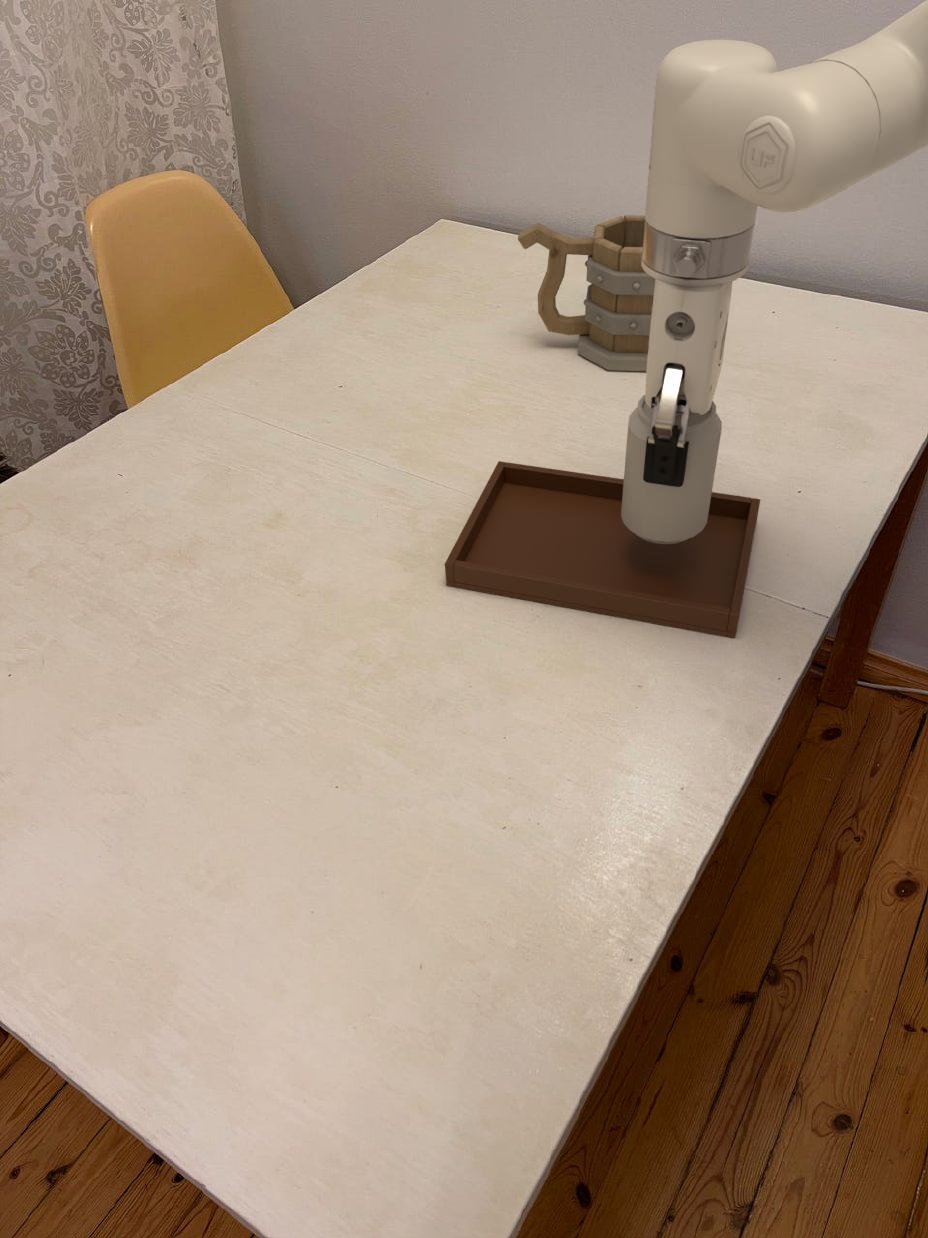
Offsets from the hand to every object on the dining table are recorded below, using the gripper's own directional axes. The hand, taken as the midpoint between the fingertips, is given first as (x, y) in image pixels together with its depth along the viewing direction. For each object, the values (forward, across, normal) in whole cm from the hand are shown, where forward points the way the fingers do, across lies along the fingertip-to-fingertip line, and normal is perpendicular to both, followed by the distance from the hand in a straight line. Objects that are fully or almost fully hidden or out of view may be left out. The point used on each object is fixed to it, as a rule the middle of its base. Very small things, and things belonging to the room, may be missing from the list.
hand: (671, 453), depth 80 cm
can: (+7, 0, 0) cm, 7 cm away
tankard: (+12, +39, +14) cm, 43 cm away
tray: (+12, 0, +5) cm, 13 cm away
